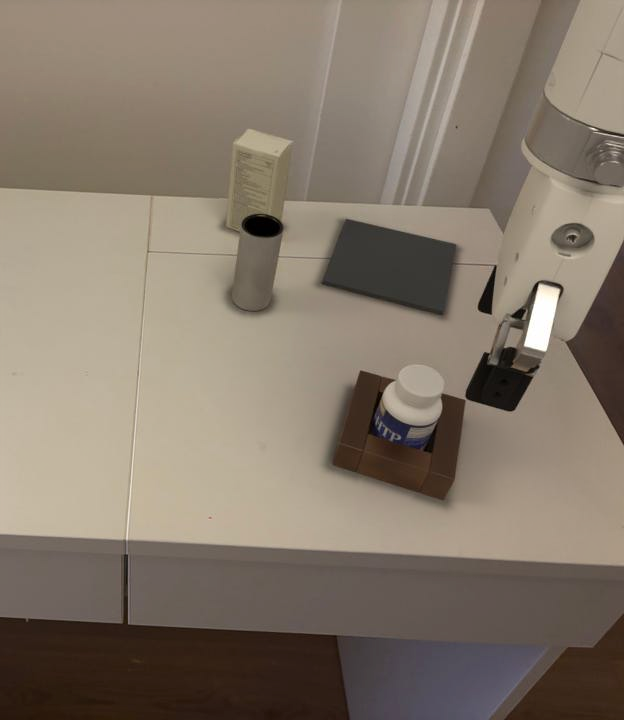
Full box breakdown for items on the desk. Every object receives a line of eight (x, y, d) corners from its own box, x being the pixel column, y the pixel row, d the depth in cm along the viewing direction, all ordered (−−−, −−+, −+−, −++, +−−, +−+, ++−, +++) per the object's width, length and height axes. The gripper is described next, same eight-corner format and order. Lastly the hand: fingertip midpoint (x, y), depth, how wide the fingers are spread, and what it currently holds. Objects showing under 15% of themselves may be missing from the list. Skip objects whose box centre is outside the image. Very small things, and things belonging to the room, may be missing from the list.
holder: (455, 421, 74) (466, 399, 72) (443, 500, 67) (454, 479, 65) (353, 391, 77) (360, 369, 74) (332, 464, 70) (339, 443, 68)
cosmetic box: (281, 226, 97) (296, 141, 89) (266, 243, 95) (280, 157, 86) (238, 211, 100) (248, 126, 91) (222, 227, 97) (232, 141, 88)
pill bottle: (357, 429, 73) (379, 366, 67) (402, 415, 74) (428, 352, 68) (388, 470, 70) (414, 408, 63) (435, 455, 71) (465, 392, 65)
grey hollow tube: (253, 281, 89) (264, 208, 82) (278, 302, 86) (292, 228, 79) (223, 295, 87) (232, 221, 80) (248, 316, 85) (260, 242, 77)
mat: (455, 247, 95) (456, 244, 94) (442, 315, 85) (443, 311, 85) (345, 222, 98) (346, 218, 98) (321, 284, 89) (322, 280, 89)
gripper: (694, 237, 34) (546, 462, 47) (664, 84, 46) (551, 297, 58) (523, 200, 36) (424, 426, 48) (535, 62, 48) (452, 273, 60)
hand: (493, 355), depth 53 cm, fingers open, 9 cm apart
